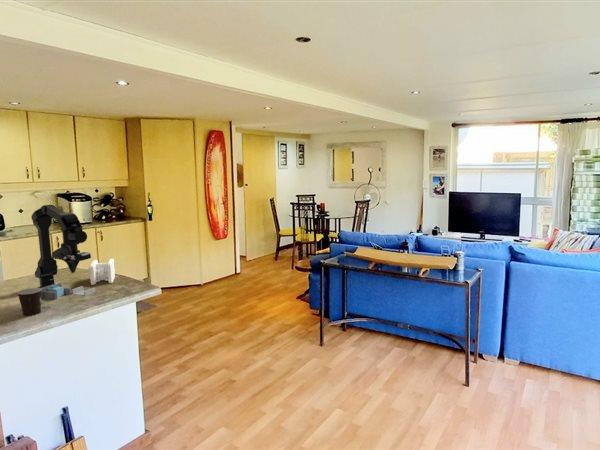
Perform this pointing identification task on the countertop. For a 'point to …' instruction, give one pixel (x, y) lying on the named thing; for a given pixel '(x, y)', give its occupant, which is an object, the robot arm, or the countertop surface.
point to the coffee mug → (30, 301)
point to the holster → (82, 291)
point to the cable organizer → (102, 271)
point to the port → (53, 295)
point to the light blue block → (57, 290)
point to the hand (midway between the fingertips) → (72, 272)
